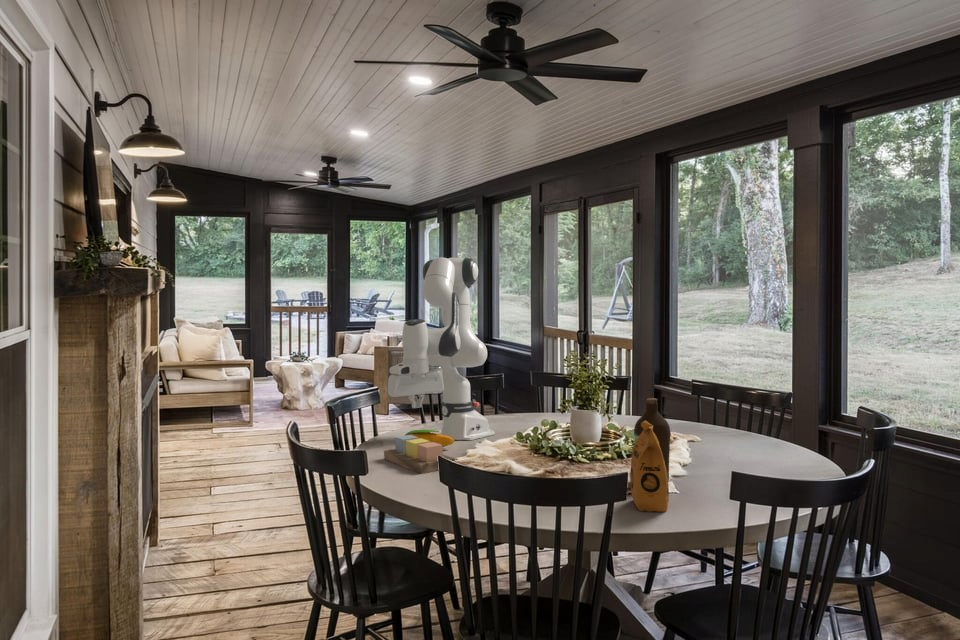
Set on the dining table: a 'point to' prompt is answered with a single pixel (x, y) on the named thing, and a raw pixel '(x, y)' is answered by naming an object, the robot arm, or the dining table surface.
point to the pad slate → (402, 442)
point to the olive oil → (656, 428)
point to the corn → (432, 437)
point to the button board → (412, 461)
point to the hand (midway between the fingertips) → (416, 407)
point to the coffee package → (649, 473)
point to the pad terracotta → (429, 451)
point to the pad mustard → (414, 446)
